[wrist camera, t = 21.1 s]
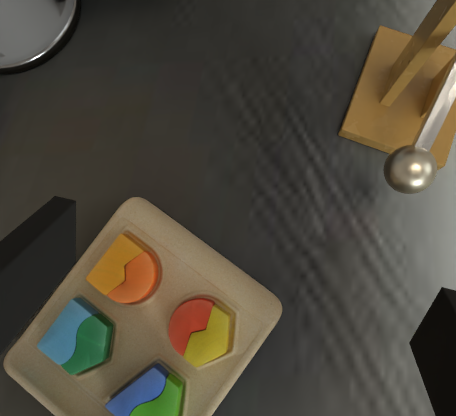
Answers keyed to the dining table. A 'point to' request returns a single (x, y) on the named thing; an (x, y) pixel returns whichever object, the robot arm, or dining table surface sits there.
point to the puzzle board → (144, 324)
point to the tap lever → (422, 143)
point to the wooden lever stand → (403, 86)
